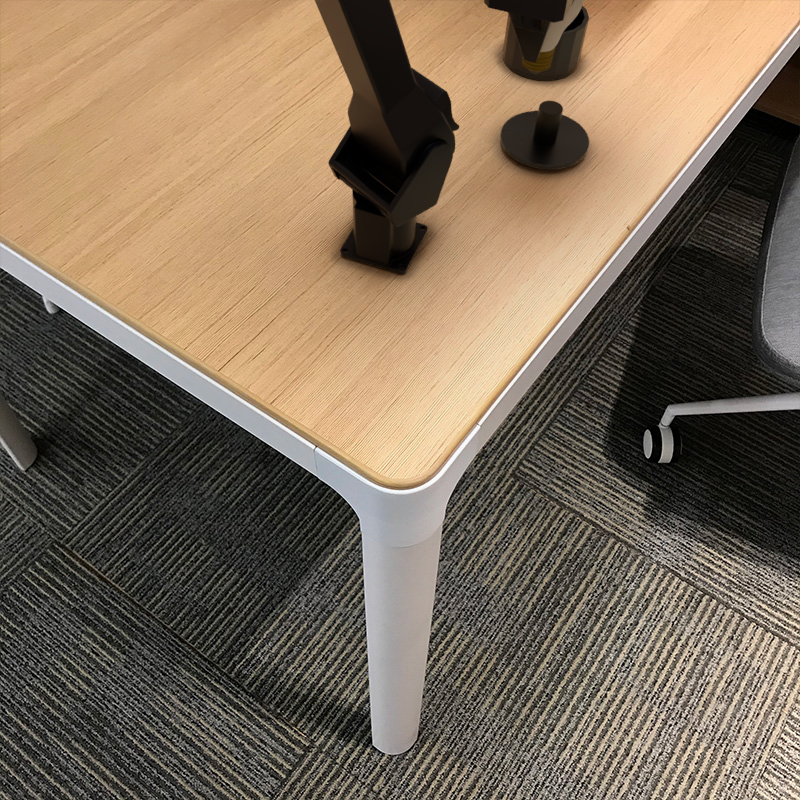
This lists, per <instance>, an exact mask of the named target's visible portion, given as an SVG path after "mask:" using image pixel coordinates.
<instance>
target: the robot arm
mask: <svg viewBox="0 0 800 800" xmlns="http://www.w3.org/2000/svg"><path fill="white" fill-rule="evenodd" d="M314 2H315V4H316V7H317V9H318V12H319V14H320V17H321V19H322V21H323V24H324V26H325V29H326V31H327V33H328V36H329V38H330V40H331V42H332V45H333V47H334V49H335V52H336V54H337V57H338V59H339V61H340V63H341V65H342V68H343V71H344V73H345V74H346V77H347V80H348V82H349V85H350V87H351V90H352V95H351V98H350V101H349V104H348V107H347V117H348V122H349V127H348V128H347V130H346V131H345V134H344V135H343V137H342V138H341V141H339V144H337V146H336V148H335V150H334V151H333V153H332V155H331V156H330V158H329V159H328V166H329V168H330V170H331V173H332V174H333V176H334V177H335V178H336V179H337V180H339V181H341V182H342V183H343V184H345V185H346V186H347V187H349V188H350V189H351V192H352V194H351V195H352V223H353V227H352V229H351V231H350V232H349V234H348V235H347V237H346V239H345V241H344V242H343V244H342V245H341V248H340V249H339V253H340V256H341V257H343V258H344V259H349V260H352V261H354V262H358V263H362V264H365V265H369V266H372V267H376V268H378V269H379V268H380V269H383V270H386V271H389V272H393V273H396V274H399V275H404V274H406V273H407V272H408V269H409V268H410V266H411V264H412V262H413V260H414V258H416V257H415V256H416V255H417V253H418V251H419V249H420V247H421V245H422V244H423V242H424V239H425V237H426V236H427V234H428V229H429V227H428V226H427V224H424V223H421V222H418V221H417V216H420V215H421V214H423V213H424V212H426V211H429V209H431V208H433V207H435V206H436V205H437V204H438V201H439V198H440V195H441V193H442V190H443V187H444V184H445V181H446V179H447V177H448V173H449V170H450V167H451V165H452V162H453V159H454V153H455V151H456V135H455V131H458V130H459V129H460V125H459V124H458V123H457V122H456V121H455V118H454V117H453V109H452V100H451V98H450V95H449V93H448V91H447V90H446V89H444V88H443V87H441V86H440V85H438V84H437V83H436V82H434V81H432V80H431V79H429V78H428V77H426V76H425V75H423V74H422V73H420V72H419V71H418V70H416V69H415V68H413V67H412V66H411V63H410V59H409V55H408V53H407V50H406V46H405V43H404V40H403V37H402V34H401V31H400V27H399V23H398V21H397V19H396V15H395V12H394V9H393V6H392V2H391V0H314ZM573 2H574V0H483V3H484V4H485V6H486V7H487V8H489V9H492V10H495V11H501V12H505V13H507V15H508V14H509V16H510V19H511V22H512V25H513V28H514V31H515V34H516V37H517V40H518V43H519V46H520V49H521V52H522V55H523V58H524V60H525V61H528V62H533V63H535V62H536V61H537V59H538V57H539V54H540V52H541V49H542V47H543V44H544V41H545V39H546V36H547V33H548V31H549V28H550V25H551V23H552V22H553V23H555V22H559V21H563V20H564V18H565V16H566V14H567V12H568V11H569V9H570V7H571V6H572V4H573Z"/></svg>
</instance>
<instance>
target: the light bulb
mask: <svg viewBox="0 0 800 800" xmlns="http://www.w3.org/2000/svg"><path fill="white" fill-rule="evenodd" d="M584 3H585V0H574V2H573V4H572V6H571V7H570V9H569V11H568V12H567V14H566V16H565V18H564V20H563V21H559V22H555V23H553V22H552V23H551V25H550V28H549V31H548V33H547V36H546V39H545V41H544V44H543V47H542V49H541V52H540V54H539V57H538V59H537V61H536V62H535V63H533V62H528V61H525V60H524V58H522V59H523V60H522V64H523V66H524V67H525V68H527V69H528V70H529V71H530V72H532V73H534V74H537V73H540V72H542V71H545V70H547V69H549V68H550V66H551V63H552V59H553V55H554V51H555V46H556V45H557V44H558V42H559V40H560V37H561V35H562V33H563V31H564V30H565V29H566V28H567V26H568V25H569V24H570V23H571V22H572V21H573V20H574V19H575V18H576V16H577V15H578V13H579V12H580V10H581V7H582V6H584Z"/></svg>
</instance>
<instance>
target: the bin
mask: <svg viewBox="0 0 800 800" xmlns="http://www.w3.org/2000/svg"><path fill="white" fill-rule="evenodd" d="M589 21H590V16H589V13H588V9H587V8H586V7H585V6H584V5H582V7H581V10H580V12H579V13H578V15H577V16H576V18H575V19H574V20H573V21H572V22H571V23H570V24H569V25H568V26H567V28H566V29H565V30H564V31H563V33H562V35H561V37H560V40H559V42H558V44H557V45H556V46H555V51H554V55H553V59H552V63H551V66H550V68H549V69H547V70H545V71H542V72H540V73H537V74H534V73H532V72H530V71H529V70H528V69H527V68H525V67H524V66H523V64H522V60H523V59H522V58H523V55H522V52H521V49H520V46H519V43H518V40H517V37H516V34H515V31H514V28H513V25H512V22H511V19H510V16H509V14H508V13H507V20H506V27H505V34H504V41H503V47H502V59H503V62H504V64H505V66H506V67H507V69H509V70H510V71H511V72H513V73H514V74H516V75H518V76H520V77H522V78H526V79H529V80H533V81H542V82H544V81H545V82H547V81H549V82H551V81H557V80H561V79H565V78H567V77H568V76H569V77H570V76H571V75H572V74H573V73H574V72H575V71H576V70H577V68H578V65H579V61H580V60H581V55H582V51H583V47H584V43H585V37H586V33H587V30H588V25H589Z"/></svg>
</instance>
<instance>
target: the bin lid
mask: <svg viewBox="0 0 800 800" xmlns="http://www.w3.org/2000/svg"><path fill="white" fill-rule="evenodd" d="M563 111H564V106H563V105H562V104H561V103H560V102H558V101H555V100H545V101H542V102H541V103H540V104H539V106H538V110H529V111H523V112H521V113H517V114H515V115H513V116H511V117H509V119H507V121H506V122H505V123H503V126H502V127H501V129H500V130H501V131H500V136H499V138H500V139H499V140H500V144H501V146H502V149H503V150H504V151H505V153H506V154H507V155H508V156H509V157H511V158H512V159H513V160H515V161H516V162H518V163H520V164H522V165H525V166H526V167H530V168H534V169H540V170H561V169H567V168H569V167H572V166H574V165H576V164H577V163H579V162H581V161H582V160H583V159H584V158H585V156H586V155H587V153H588V150H589V146H590V138H589V135H588V133H587V131H586V130H585V128H584V127H583V126H582V125H581V124H580V123H579V122H578V121H576V120H574V119H573V118H572V117H569V116H567V115H564V114H563Z"/></svg>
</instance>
